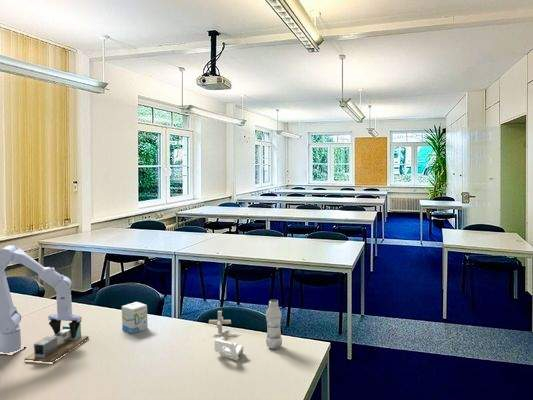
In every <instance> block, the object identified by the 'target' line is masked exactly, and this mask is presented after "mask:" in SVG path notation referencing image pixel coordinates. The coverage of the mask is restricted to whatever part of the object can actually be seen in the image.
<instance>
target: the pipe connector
mask: <svg viewBox="0 0 533 400" xmlns="http://www.w3.org/2000/svg"><path fill="white" fill-rule="evenodd" d="M222 315H223V310H218V311H217V319H209V320H208V324H209V325H216V328H217V331H218V332H217V333H218V334H222V333H223V325H229V324H230V325H232V320H231V319H224V316H222Z"/></svg>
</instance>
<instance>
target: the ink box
mask: <svg viewBox="0 0 533 400" xmlns="http://www.w3.org/2000/svg"><path fill="white" fill-rule="evenodd" d="M121 321H122V322H121V325H122V327H121V328H122V329H121V330H122V331H124V332H127V333H128V334H136V332H137V333H139V332H141V330H142V331H144V329H145V330H147V329H148V326H149V325H148V305H147V304H145V303H142V302H139V301H133V302H132V303H127V304H125V305H122V306H121Z"/></svg>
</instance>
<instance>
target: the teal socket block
mask: <svg viewBox="0 0 533 400" xmlns="http://www.w3.org/2000/svg"><path fill="white" fill-rule="evenodd" d="M69 323H70V322H68V323H66V324H64V325H63V326H62V330H64V329H65V328H70V326H69ZM81 325H82V324H81V323H80V325H79V327H78V330H77V334H76V337H75V338H71V336H70V337H69V338H67V339H66V340H76V339H78V338H79V337H81V336H82V326H81Z"/></svg>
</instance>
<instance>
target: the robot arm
mask: <svg viewBox="0 0 533 400" xmlns="http://www.w3.org/2000/svg"><path fill="white" fill-rule="evenodd" d="M10 263H11V264H13V265H15V264H21V265H23V266H25V267H26V268H28V269H30V270H31V271H33V272H34V273H37V274H38V277H39V279H40V280H42V281H43V282H45V283H46V284H48V285H49V286H51V287H52V288H54V289H53V290H54V291H55V292H56V314H50V315H48V316H47V318H48V325H49V326H50V327H51V329H52V331H53V333H54V335H55V334H57V333H58V332H60V331H61V324H62V321H65V322H67V321H68V323H69V326H70V330H71V338H75V337H76V334H77V330H78V327H79V325H80V323H81V322H82V318H83V317H82V316H81V315H77V314H74V313H73V305H72V304H73V303H72V302H73V301H72V294H71V293H72V290H71V287H72V279H71V278H70V277H69V276H66V275H64V274H61V273H59V272H57V271H56V270H55V269H56V268H55V267H54V266H53V267H50V266H47V267H45V266H44V265H42V264H40V263H39V262H38V261H37V260H35V259H34V258H33V257H32V256H30V255H29V254H27V253H26V252H25V251H24V250H23V249H21V248H18V246H16V245H13V244H8V245H7V244H6V246H4V247H3V248H0V352H3V353H10V352H14V351H17V350H19V349H21V346H22V336H21V335H22V334H21V326H20V325H19V324H20V323H21V321H22V315H21V314H20V312H19V311H18V309H17V307H16V306H15V305H14V302H13V298H12V295H11V292H10V291H11V290H10V287H9V283H8V279H7V275H6V271H5V269H6V268H7V266H9V264H10Z"/></svg>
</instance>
